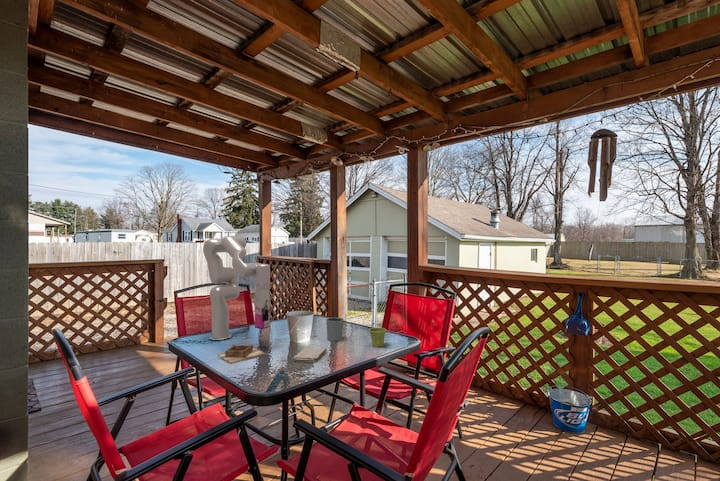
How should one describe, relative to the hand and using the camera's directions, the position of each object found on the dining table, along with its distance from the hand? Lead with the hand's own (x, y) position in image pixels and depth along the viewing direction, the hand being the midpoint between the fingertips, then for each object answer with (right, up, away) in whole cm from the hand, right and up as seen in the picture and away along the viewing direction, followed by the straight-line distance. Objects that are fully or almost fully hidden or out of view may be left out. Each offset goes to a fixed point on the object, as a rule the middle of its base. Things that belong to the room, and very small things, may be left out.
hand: (262, 319), depth 184 cm
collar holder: (-7, -15, -14) cm, 22 cm away
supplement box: (0, -5, 0) cm, 5 cm away
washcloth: (+28, -16, -15) cm, 36 cm away
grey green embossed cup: (+39, -16, +15) cm, 44 cm away
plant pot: (+63, -15, +2) cm, 65 cm away
